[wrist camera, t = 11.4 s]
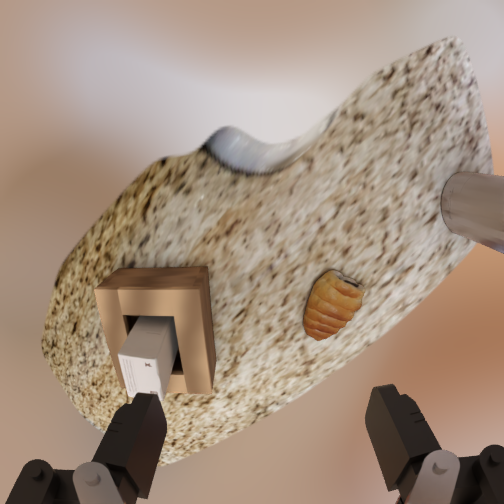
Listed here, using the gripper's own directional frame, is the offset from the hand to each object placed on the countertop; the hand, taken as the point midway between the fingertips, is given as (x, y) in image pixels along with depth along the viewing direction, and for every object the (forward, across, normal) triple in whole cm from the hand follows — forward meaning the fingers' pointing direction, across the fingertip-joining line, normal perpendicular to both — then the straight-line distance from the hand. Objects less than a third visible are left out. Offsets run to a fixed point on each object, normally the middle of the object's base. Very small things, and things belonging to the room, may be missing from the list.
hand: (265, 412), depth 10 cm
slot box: (+26, +12, +10) cm, 31 cm away
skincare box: (+26, +13, +10) cm, 31 cm away
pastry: (+27, -9, +9) cm, 30 cm away
